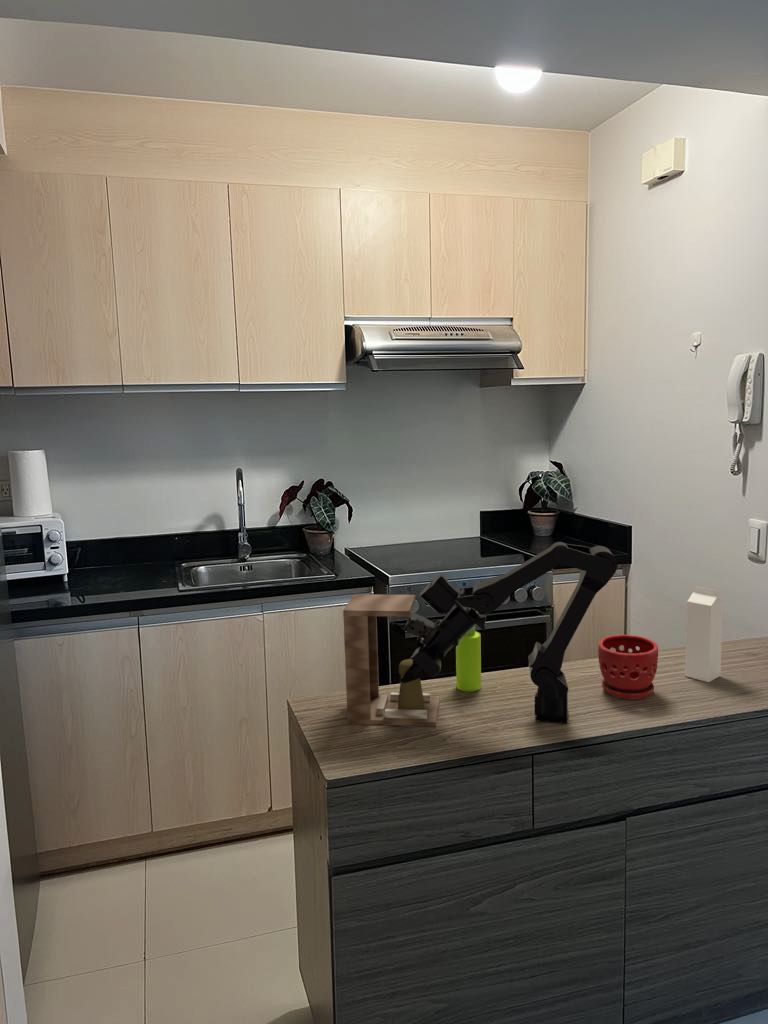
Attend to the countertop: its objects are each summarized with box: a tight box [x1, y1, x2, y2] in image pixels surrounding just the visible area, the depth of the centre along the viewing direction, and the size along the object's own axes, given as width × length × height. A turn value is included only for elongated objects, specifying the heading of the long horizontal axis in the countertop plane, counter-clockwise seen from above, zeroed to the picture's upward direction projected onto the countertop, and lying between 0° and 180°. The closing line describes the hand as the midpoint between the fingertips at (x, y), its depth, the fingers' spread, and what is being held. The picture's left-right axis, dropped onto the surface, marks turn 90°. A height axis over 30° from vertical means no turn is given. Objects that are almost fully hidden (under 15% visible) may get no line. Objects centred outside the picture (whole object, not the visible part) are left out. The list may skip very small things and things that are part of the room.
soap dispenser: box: [455, 612, 482, 692], centre depth 180 cm, size 6×7×20 cm
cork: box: [398, 658, 425, 710], centre depth 167 cm, size 6×6×11 cm
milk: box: [684, 585, 724, 683], centre depth 182 cm, size 6×6×22 cm
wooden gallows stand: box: [342, 593, 441, 727], centre depth 166 cm, size 19×13×25 cm
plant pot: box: [597, 634, 659, 700], centre depth 174 cm, size 13×13×12 cm
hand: (403, 676), depth 167 cm, fingers open, 6 cm apart
